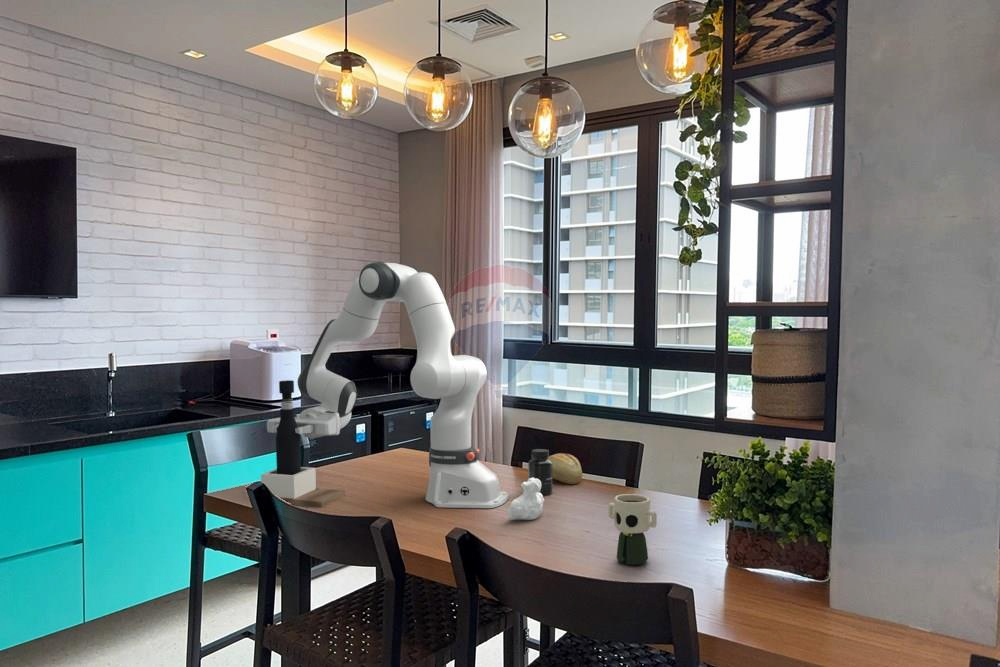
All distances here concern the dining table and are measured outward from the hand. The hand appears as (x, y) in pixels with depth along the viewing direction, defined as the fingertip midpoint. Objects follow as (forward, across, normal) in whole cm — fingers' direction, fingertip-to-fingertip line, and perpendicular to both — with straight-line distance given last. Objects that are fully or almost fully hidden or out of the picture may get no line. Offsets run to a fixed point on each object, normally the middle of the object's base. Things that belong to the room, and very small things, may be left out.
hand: (285, 430), depth 192 cm
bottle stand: (-1, +4, +19) cm, 19 cm away
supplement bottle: (-24, +66, +19) cm, 73 cm away
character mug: (+23, +97, +19) cm, 101 cm away
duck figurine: (0, +69, +19) cm, 72 cm away
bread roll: (-40, +68, +20) cm, 82 cm away
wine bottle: (-1, 0, +17) cm, 17 cm away
